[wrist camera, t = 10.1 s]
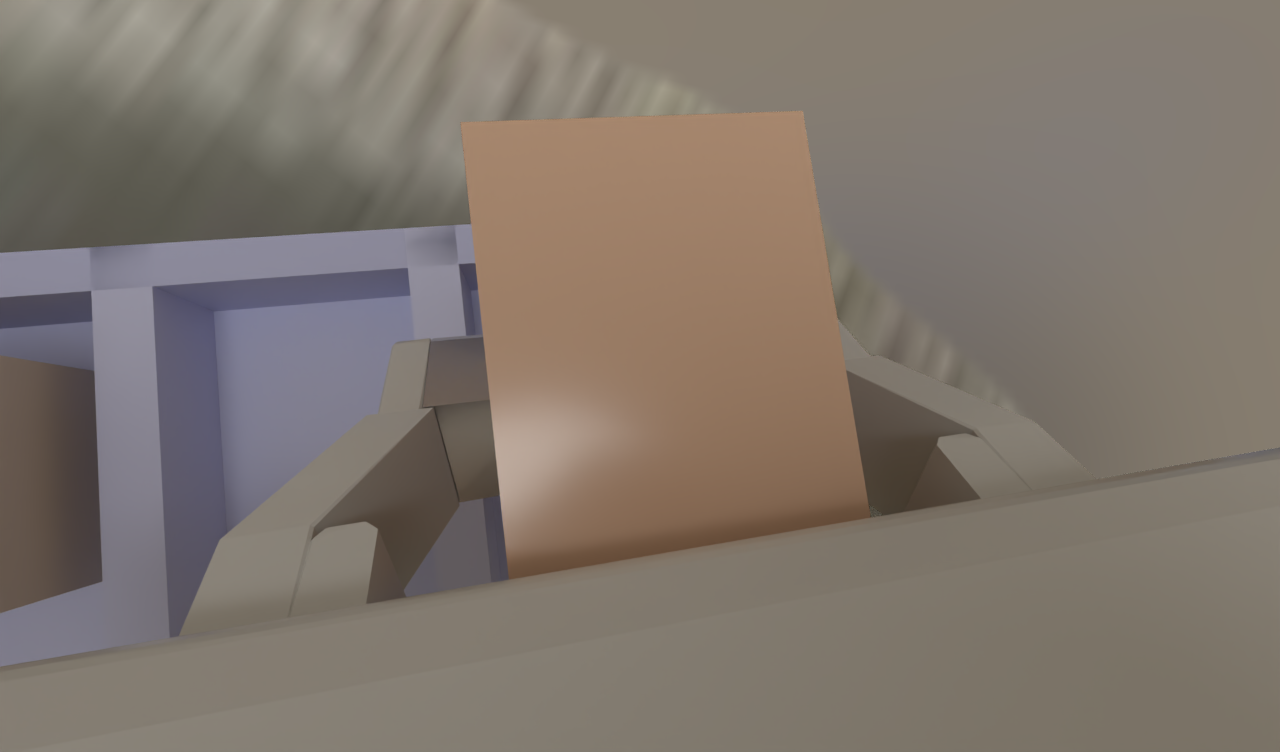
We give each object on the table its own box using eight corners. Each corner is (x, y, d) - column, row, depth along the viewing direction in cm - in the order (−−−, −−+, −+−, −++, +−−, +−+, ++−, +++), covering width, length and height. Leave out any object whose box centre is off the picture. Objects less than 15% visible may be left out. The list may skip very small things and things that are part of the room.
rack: (-118, 710, 14) (-329, 795, 11) (-119, 311, 15) (-313, 271, 12) (735, 558, 18) (780, 586, 15) (691, 251, 19) (724, 208, 16)
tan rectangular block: (535, 526, 14) (518, 667, 5) (512, 321, 14) (460, 121, 5) (676, 504, 14) (884, 595, 6) (649, 309, 15) (802, 110, 6)
